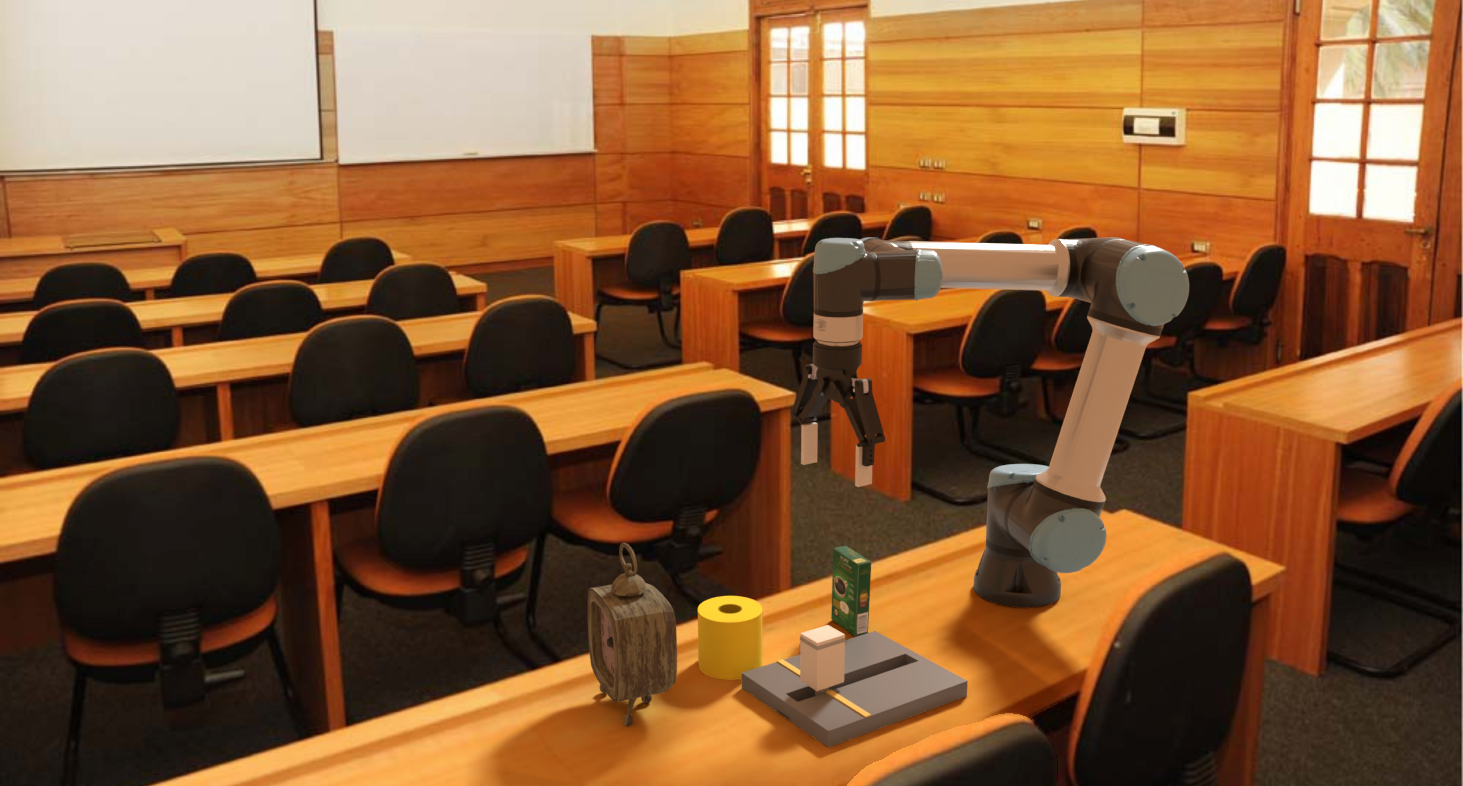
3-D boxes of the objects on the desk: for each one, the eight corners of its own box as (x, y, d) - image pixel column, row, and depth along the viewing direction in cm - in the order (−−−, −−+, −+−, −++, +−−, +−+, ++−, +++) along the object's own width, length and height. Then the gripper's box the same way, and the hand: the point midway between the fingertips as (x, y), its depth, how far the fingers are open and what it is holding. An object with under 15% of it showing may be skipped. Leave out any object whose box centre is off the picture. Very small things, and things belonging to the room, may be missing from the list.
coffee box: (870, 635, 208) (872, 560, 205) (855, 638, 207) (857, 563, 203) (844, 617, 215) (846, 544, 212) (830, 620, 214) (831, 547, 210)
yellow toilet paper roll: (772, 657, 200) (772, 602, 198) (746, 684, 191) (746, 627, 189) (715, 646, 204) (715, 591, 202) (687, 672, 195) (686, 615, 193)
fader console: (874, 645, 204) (875, 629, 204) (966, 696, 187) (967, 679, 187) (741, 688, 190) (741, 671, 189) (828, 747, 173) (828, 729, 173)
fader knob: (826, 688, 188) (827, 624, 186) (844, 699, 185) (845, 634, 183) (799, 697, 186) (800, 633, 183) (816, 708, 182) (817, 643, 180)
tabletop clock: (589, 690, 190) (584, 533, 184) (646, 678, 193) (643, 524, 187) (620, 734, 177) (615, 567, 171) (680, 722, 180) (678, 557, 174)
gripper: (769, 330, 201) (769, 458, 206) (871, 358, 181) (868, 499, 186) (807, 325, 205) (806, 450, 210) (911, 351, 185) (907, 490, 190)
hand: (835, 473), depth 198 cm, fingers open, 13 cm apart
